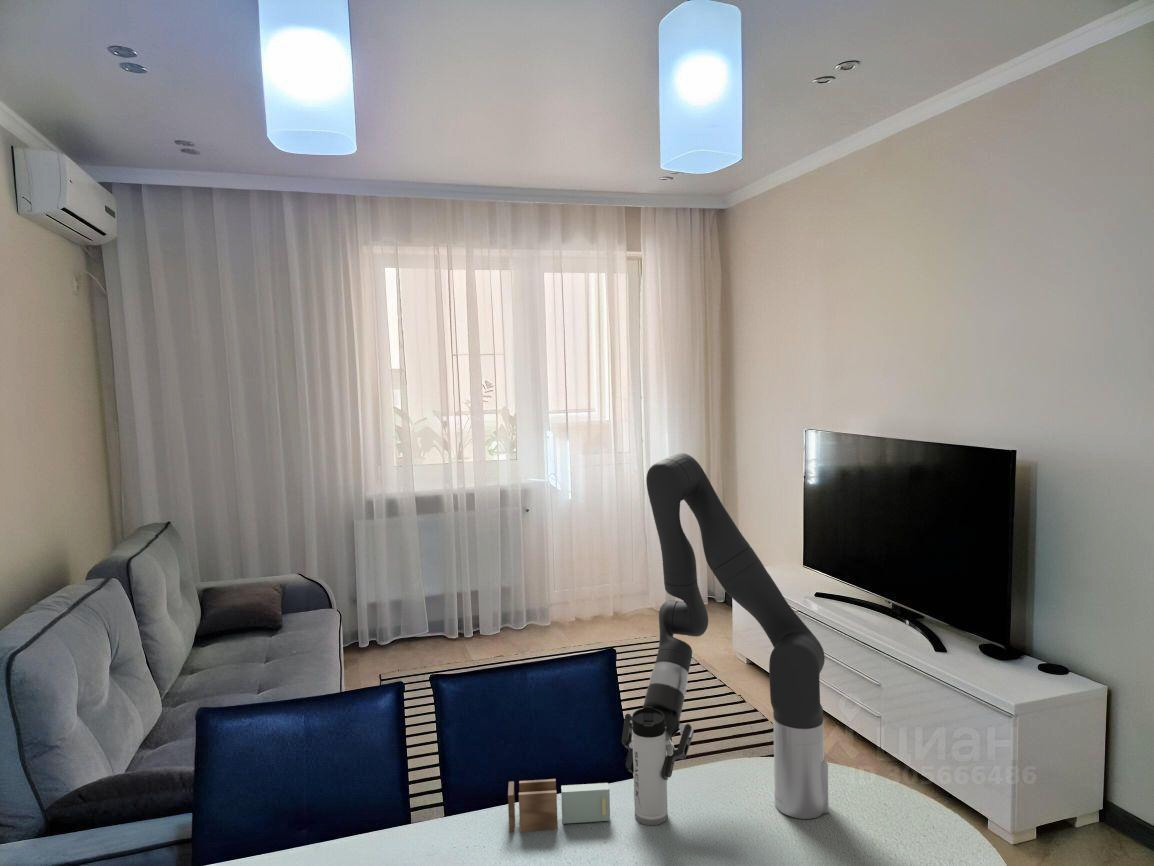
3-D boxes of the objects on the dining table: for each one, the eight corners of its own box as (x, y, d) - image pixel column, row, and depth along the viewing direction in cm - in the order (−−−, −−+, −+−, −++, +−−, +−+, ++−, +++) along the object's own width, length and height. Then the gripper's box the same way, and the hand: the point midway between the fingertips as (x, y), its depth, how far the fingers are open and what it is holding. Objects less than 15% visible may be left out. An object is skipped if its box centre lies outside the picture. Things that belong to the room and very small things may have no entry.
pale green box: (608, 813, 140) (608, 782, 140) (610, 822, 138) (609, 791, 137) (562, 816, 140) (561, 785, 140) (562, 825, 137) (561, 793, 137)
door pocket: (556, 814, 141) (555, 778, 141) (557, 829, 136) (556, 792, 136) (509, 817, 141) (508, 781, 140) (509, 832, 136) (507, 795, 135)
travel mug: (667, 806, 143) (664, 705, 142) (668, 826, 136) (665, 720, 136) (635, 806, 143) (632, 705, 143) (634, 825, 137) (631, 720, 136)
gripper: (628, 677, 149) (606, 760, 139) (696, 687, 143) (679, 775, 132) (638, 693, 154) (617, 774, 144) (705, 704, 147) (688, 789, 137)
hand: (647, 774), depth 138 cm, fingers closed on travel mug, 6 cm apart
